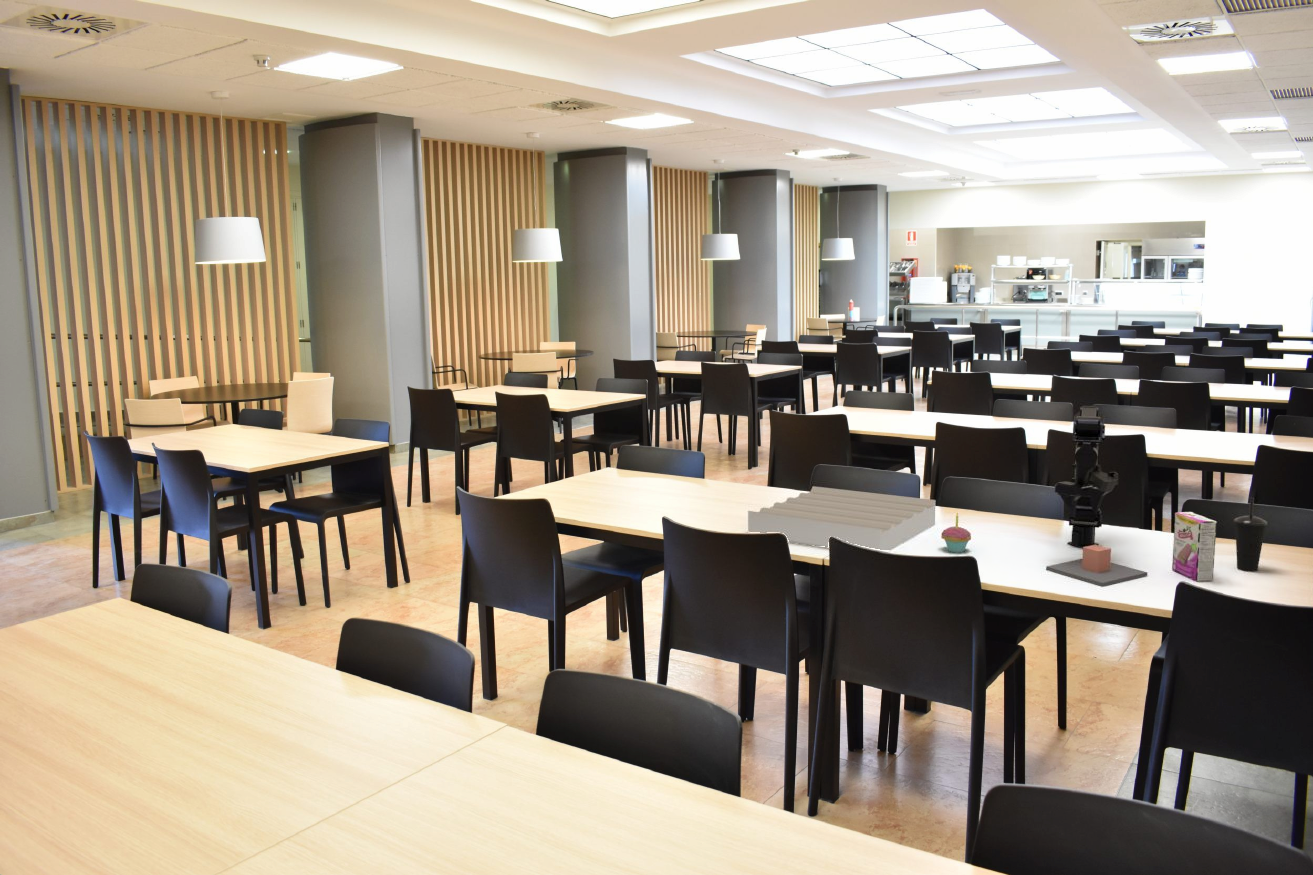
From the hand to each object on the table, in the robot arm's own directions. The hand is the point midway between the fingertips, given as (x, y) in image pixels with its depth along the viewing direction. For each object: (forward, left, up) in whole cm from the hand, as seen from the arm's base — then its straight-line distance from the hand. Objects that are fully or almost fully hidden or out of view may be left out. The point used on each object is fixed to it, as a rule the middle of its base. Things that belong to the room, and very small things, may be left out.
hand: (1083, 515), depth 278 cm
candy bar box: (-11, +26, -13) cm, 31 cm away
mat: (+8, +11, -13) cm, 19 cm away
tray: (+36, -63, -14) cm, 74 cm away
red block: (+8, +11, -12) cm, 18 cm away
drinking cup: (-29, +30, -13) cm, 44 cm away
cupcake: (+23, -26, -13) cm, 37 cm away
